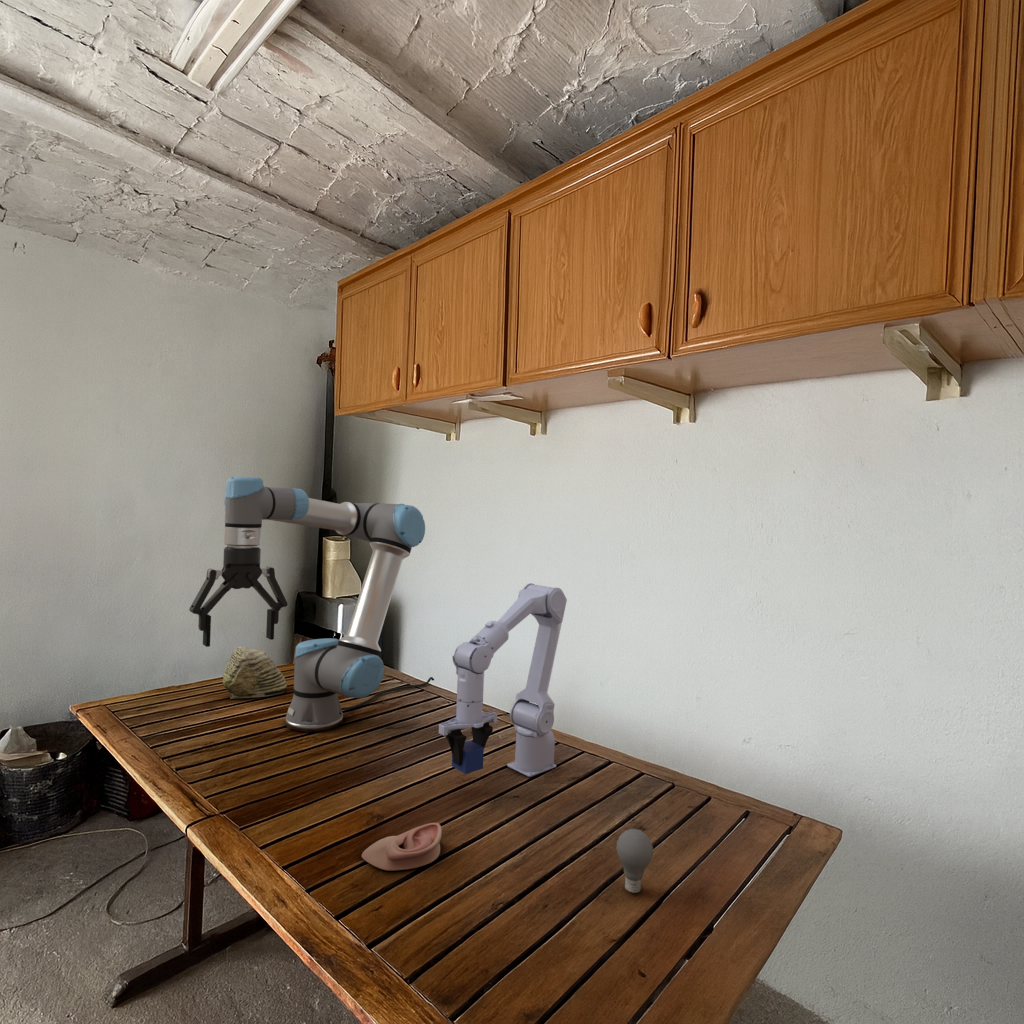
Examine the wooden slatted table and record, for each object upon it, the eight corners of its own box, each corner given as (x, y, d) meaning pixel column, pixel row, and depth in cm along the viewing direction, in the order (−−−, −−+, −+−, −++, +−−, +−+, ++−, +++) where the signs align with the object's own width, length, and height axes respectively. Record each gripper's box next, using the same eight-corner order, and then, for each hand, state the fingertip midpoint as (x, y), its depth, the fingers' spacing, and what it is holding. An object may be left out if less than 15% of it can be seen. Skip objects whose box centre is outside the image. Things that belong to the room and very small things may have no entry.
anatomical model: (354, 842, 109) (381, 811, 120) (353, 865, 109) (380, 831, 121) (427, 854, 107) (448, 821, 118) (426, 877, 107) (447, 842, 118)
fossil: (218, 695, 195) (220, 647, 195) (278, 685, 208) (279, 640, 207) (228, 703, 189) (230, 653, 188) (289, 692, 201) (290, 645, 201)
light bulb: (610, 879, 108) (613, 822, 108) (644, 879, 109) (647, 822, 109) (619, 902, 102) (622, 840, 102) (655, 901, 103) (658, 840, 103)
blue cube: (465, 774, 134) (466, 752, 134) (451, 766, 138) (452, 744, 138) (483, 768, 137) (484, 747, 137) (469, 760, 141) (470, 739, 141)
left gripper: (185, 548, 129) (181, 652, 130) (304, 546, 145) (300, 638, 146) (176, 545, 135) (172, 644, 135) (291, 544, 151) (288, 632, 152)
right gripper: (453, 710, 130) (450, 775, 130) (507, 697, 139) (504, 759, 139) (434, 700, 135) (431, 764, 135) (487, 689, 145) (484, 748, 145)
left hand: (239, 642), depth 141 cm, fingers open, 13 cm apart
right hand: (467, 760), depth 138 cm, fingers closed on blue cube, 5 cm apart
